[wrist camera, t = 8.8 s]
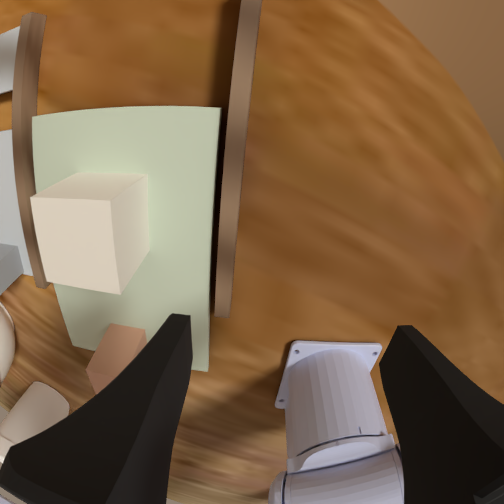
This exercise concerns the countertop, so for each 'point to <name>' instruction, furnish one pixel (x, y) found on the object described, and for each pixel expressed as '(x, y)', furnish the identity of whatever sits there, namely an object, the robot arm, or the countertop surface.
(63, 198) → the cream cube
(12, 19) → the countertop surface
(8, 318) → the lidded jar
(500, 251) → the countertop surface
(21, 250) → the grey l-shaped bracket
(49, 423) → the foam cup
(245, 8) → the lane rails
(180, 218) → the green flat panel
